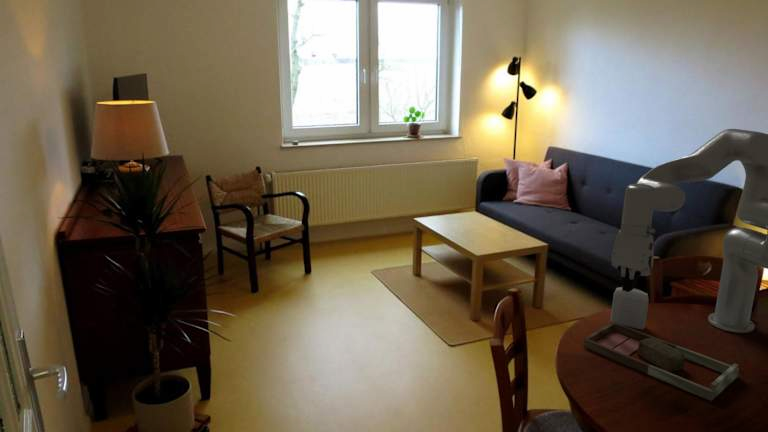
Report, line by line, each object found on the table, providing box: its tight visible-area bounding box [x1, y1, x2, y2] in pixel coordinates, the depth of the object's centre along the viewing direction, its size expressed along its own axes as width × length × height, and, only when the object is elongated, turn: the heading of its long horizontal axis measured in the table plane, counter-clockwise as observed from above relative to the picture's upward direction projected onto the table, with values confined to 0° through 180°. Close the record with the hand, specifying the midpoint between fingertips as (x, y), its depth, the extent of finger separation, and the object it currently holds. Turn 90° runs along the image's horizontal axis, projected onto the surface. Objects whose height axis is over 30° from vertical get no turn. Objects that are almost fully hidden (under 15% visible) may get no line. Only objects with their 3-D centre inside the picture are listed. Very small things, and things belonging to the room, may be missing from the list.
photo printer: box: [610, 286, 650, 330], centre depth 177 cm, size 10×4×12 cm, turn 59°
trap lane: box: [583, 322, 740, 402], centre depth 156 cm, size 17×36×4 cm, turn 39°
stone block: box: [636, 337, 686, 373], centre depth 156 cm, size 6×12×5 cm, turn 24°
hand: (627, 290), depth 160 cm, fingers closed
